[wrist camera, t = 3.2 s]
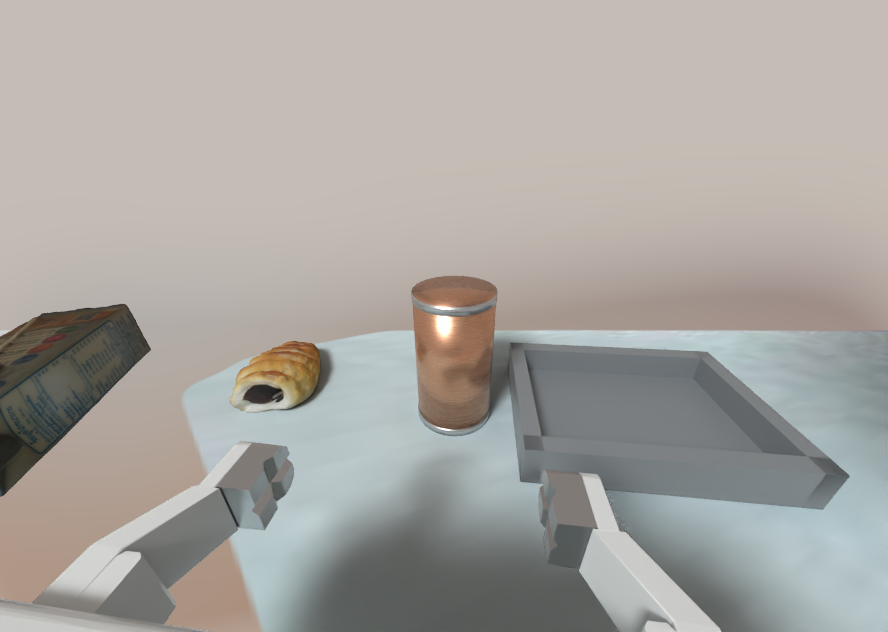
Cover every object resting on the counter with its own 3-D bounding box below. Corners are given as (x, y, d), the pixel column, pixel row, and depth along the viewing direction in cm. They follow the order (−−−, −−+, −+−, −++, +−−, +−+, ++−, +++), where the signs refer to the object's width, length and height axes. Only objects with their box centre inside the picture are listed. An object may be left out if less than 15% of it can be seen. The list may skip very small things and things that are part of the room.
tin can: (489, 388, 30) (496, 276, 25) (490, 439, 25) (499, 309, 20) (425, 384, 31) (419, 275, 26) (412, 432, 25) (402, 306, 20)
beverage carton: (-169, 538, 19) (-282, 460, 16) (72, 361, 36) (38, 307, 33) (4, 502, 21) (-69, 426, 18) (156, 350, 37) (131, 298, 34)
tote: (696, 378, 31) (707, 352, 30) (822, 509, 19) (849, 476, 18) (507, 367, 33) (510, 342, 32) (520, 481, 21) (525, 449, 20)
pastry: (274, 356, 36) (266, 326, 34) (335, 355, 36) (330, 325, 34) (228, 417, 27) (213, 381, 26) (308, 414, 28) (299, 379, 26)
